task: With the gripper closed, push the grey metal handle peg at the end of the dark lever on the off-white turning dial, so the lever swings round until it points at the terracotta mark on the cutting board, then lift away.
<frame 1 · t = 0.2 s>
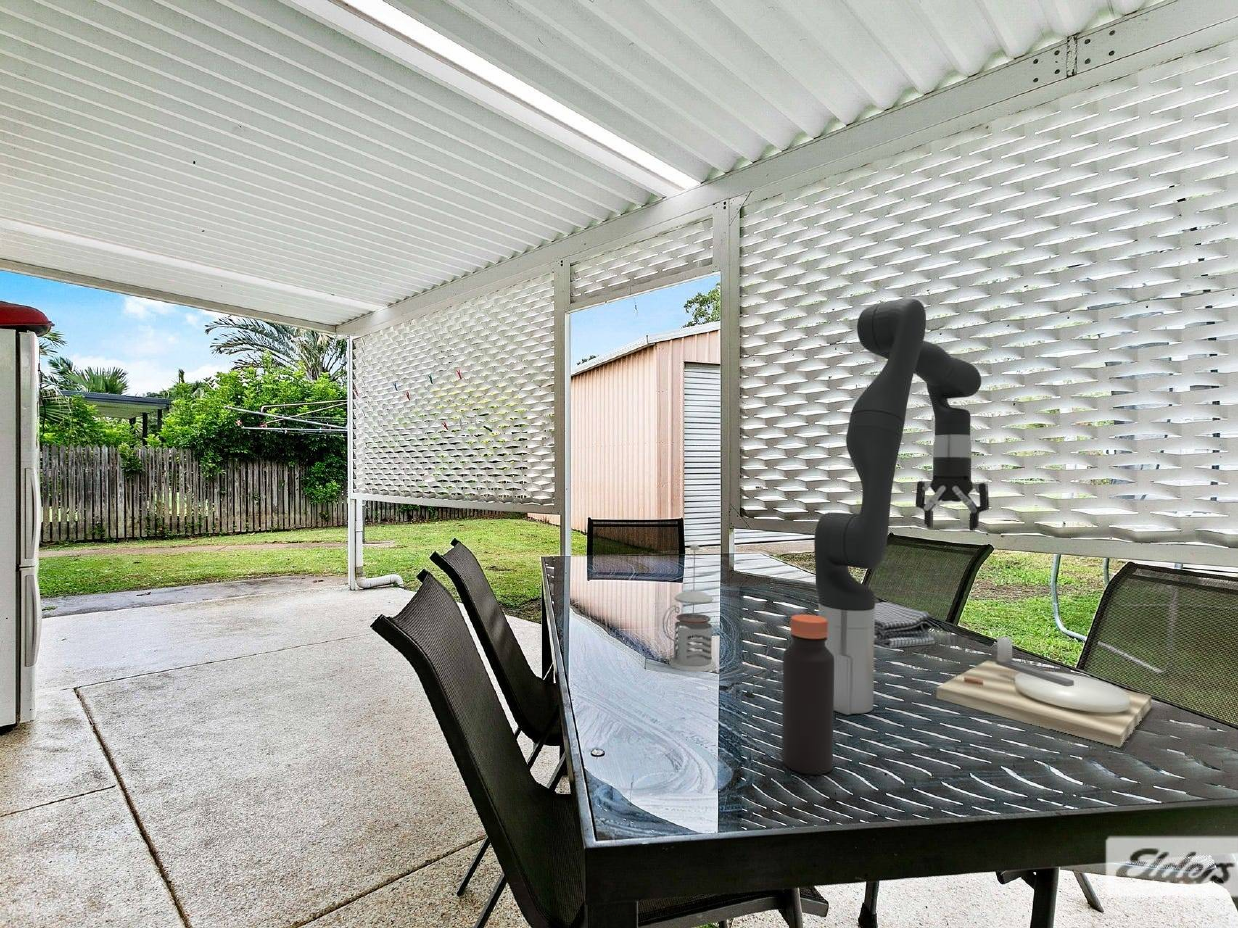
hand: (950, 528, 136), 29 cm above the table, fingers open, 8 cm apart
bottle: (806, 765, 84), on the table
cutting board: (1069, 709, 107), on the table
french press: (688, 665, 128), on the table
towel: (883, 639, 153), on the table
dial: (1054, 671, 108), point 6 cm above the table, hinge at 0.0°
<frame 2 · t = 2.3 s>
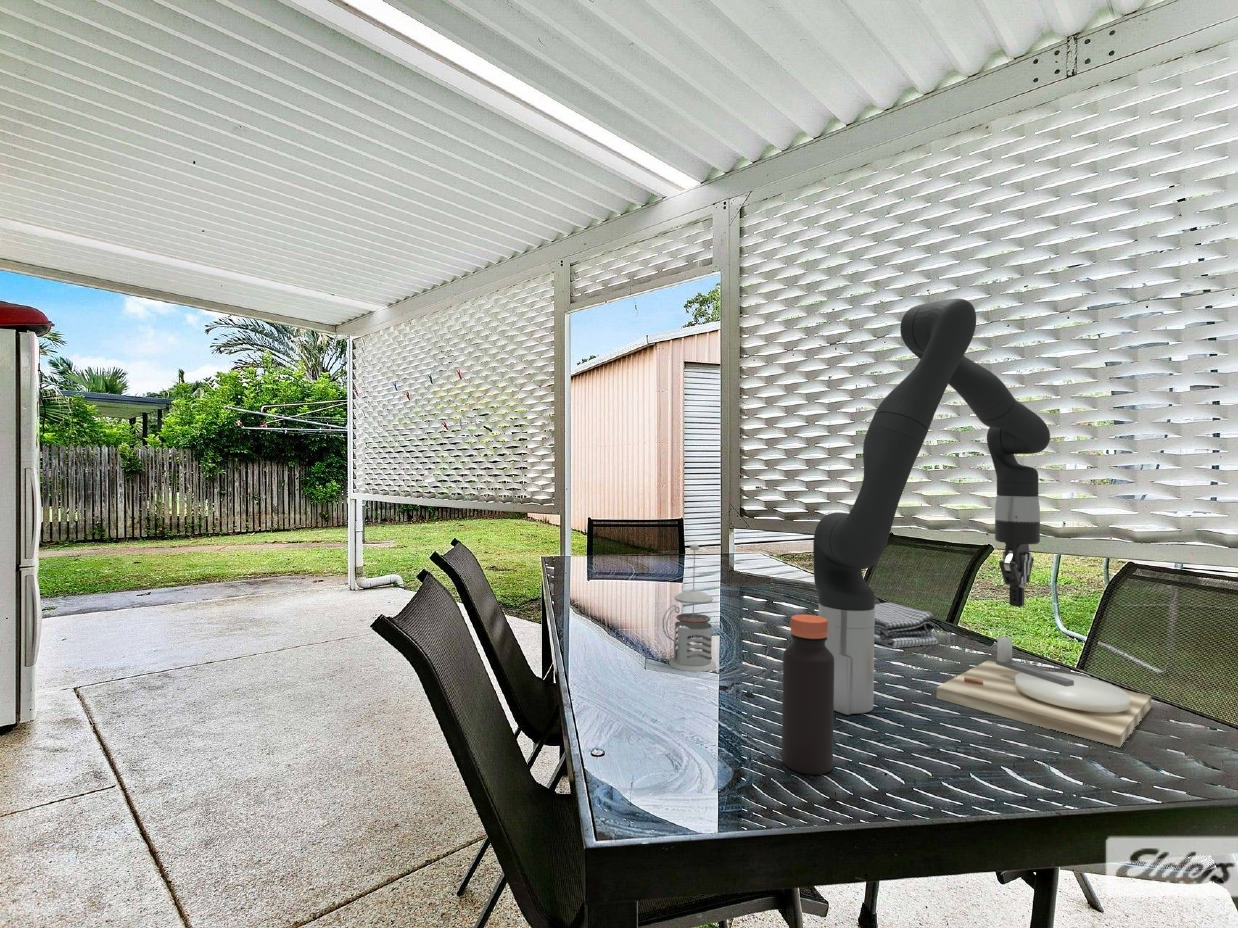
hand: (1016, 605, 122), 15 cm above the table, fingers closed
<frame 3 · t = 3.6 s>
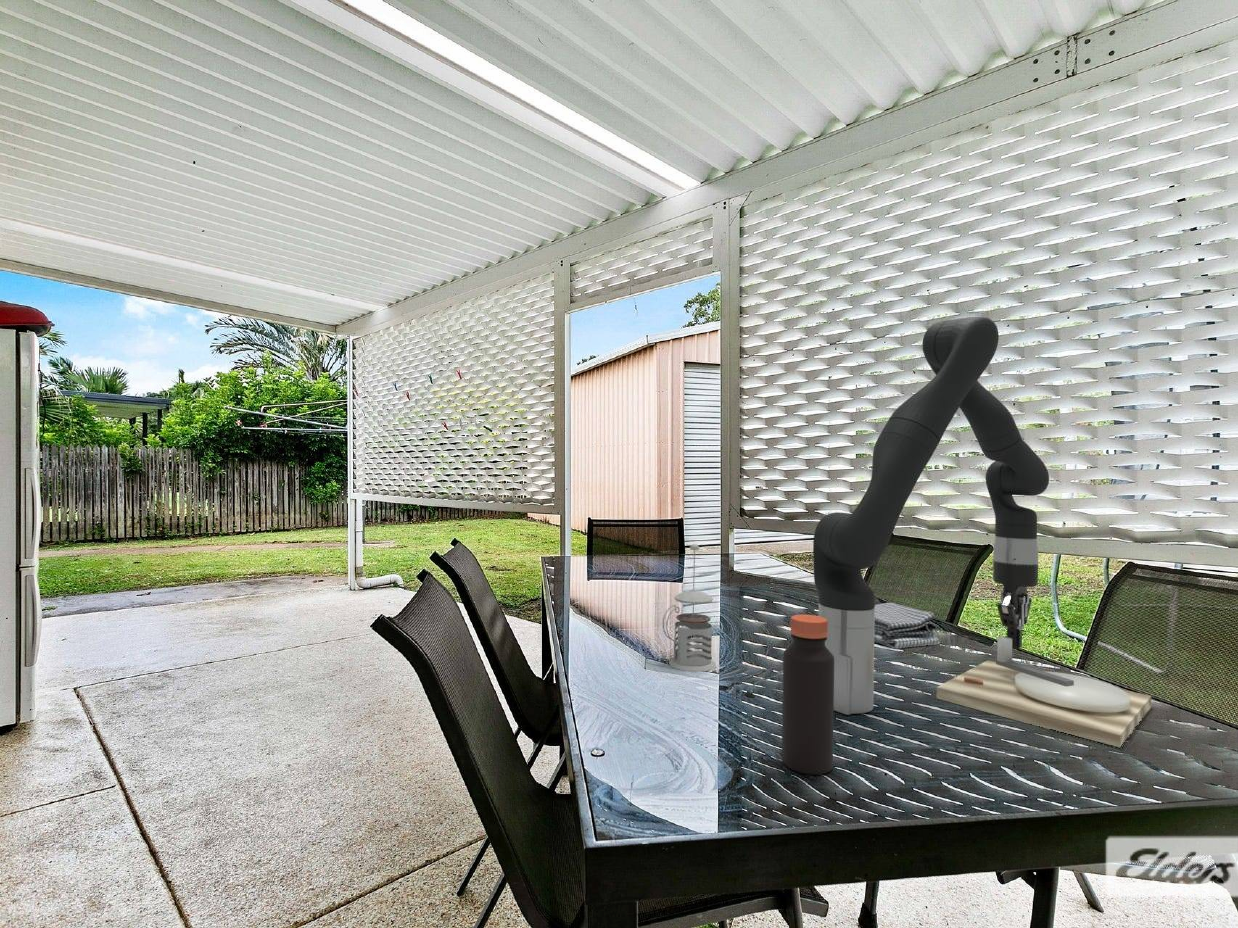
hand: (1014, 647, 122), 6 cm above the table, fingers closed
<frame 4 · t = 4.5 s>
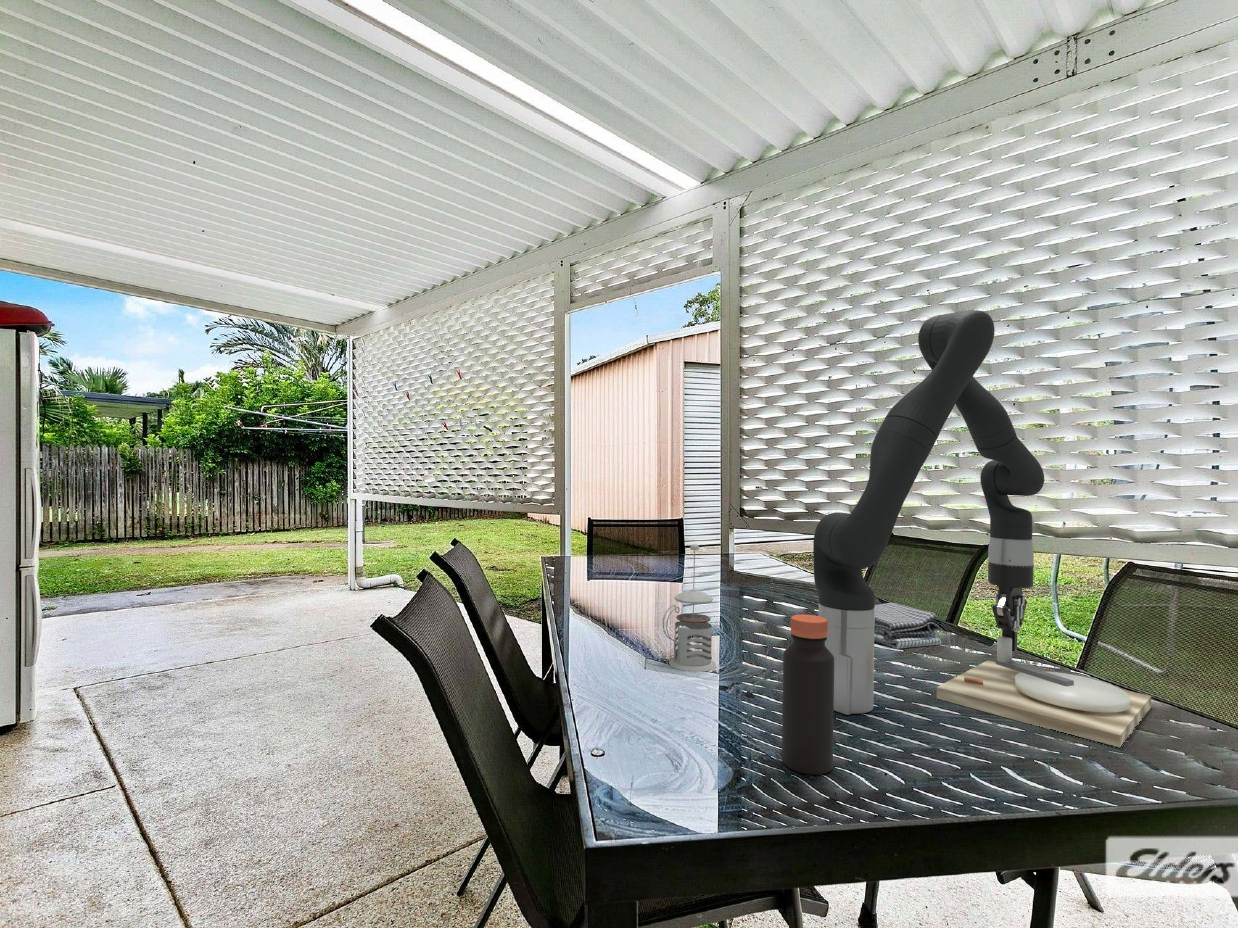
hand: (1009, 649, 120), 6 cm above the table, fingers closed
dial: (1054, 671, 108), point 6 cm above the table, hinge at 0.2°, touching gripper
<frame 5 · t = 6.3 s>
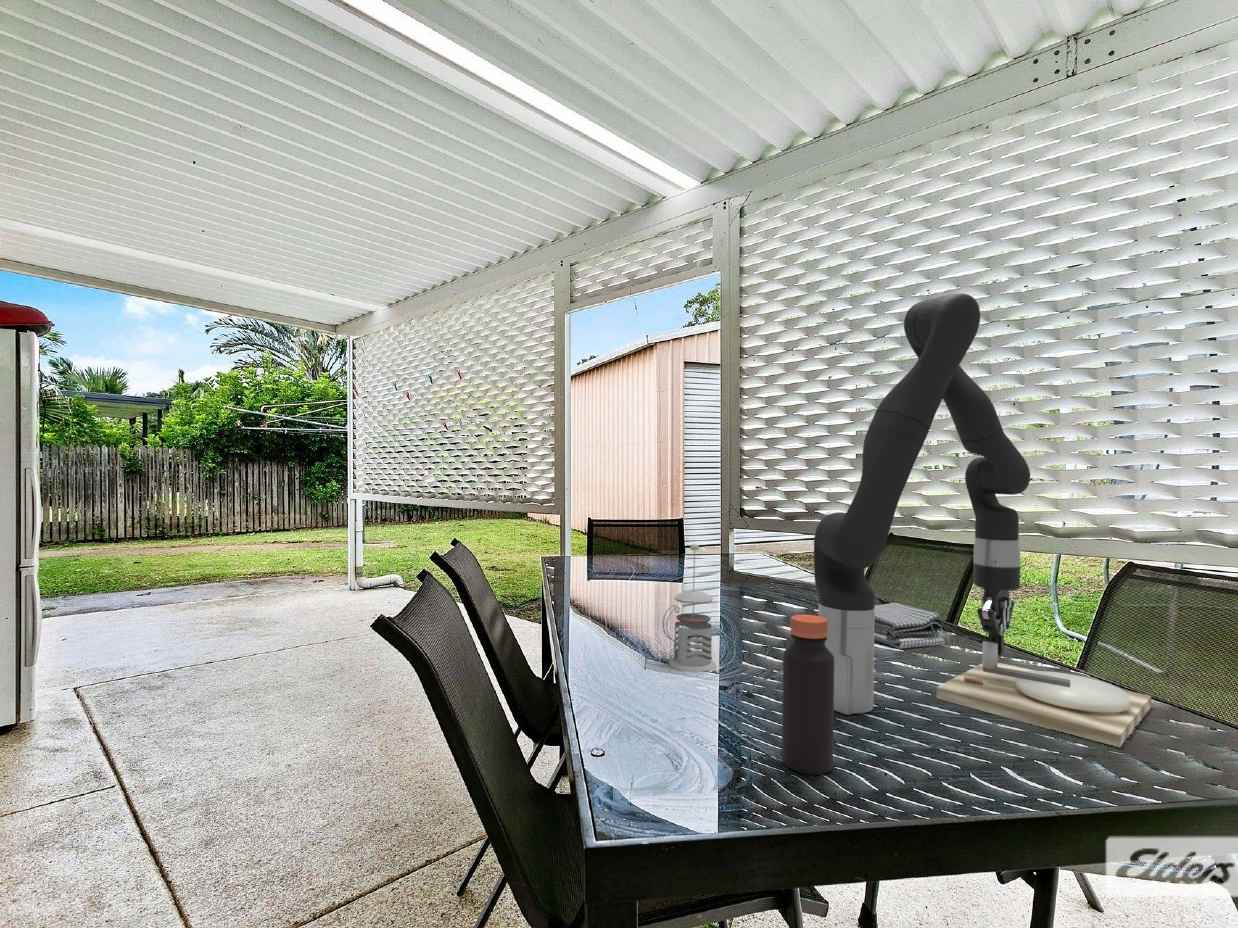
hand: (996, 653, 116), 7 cm above the table, fingers closed
dial: (1054, 673, 107), point 6 cm above the table, hinge at 31.5°, touching gripper
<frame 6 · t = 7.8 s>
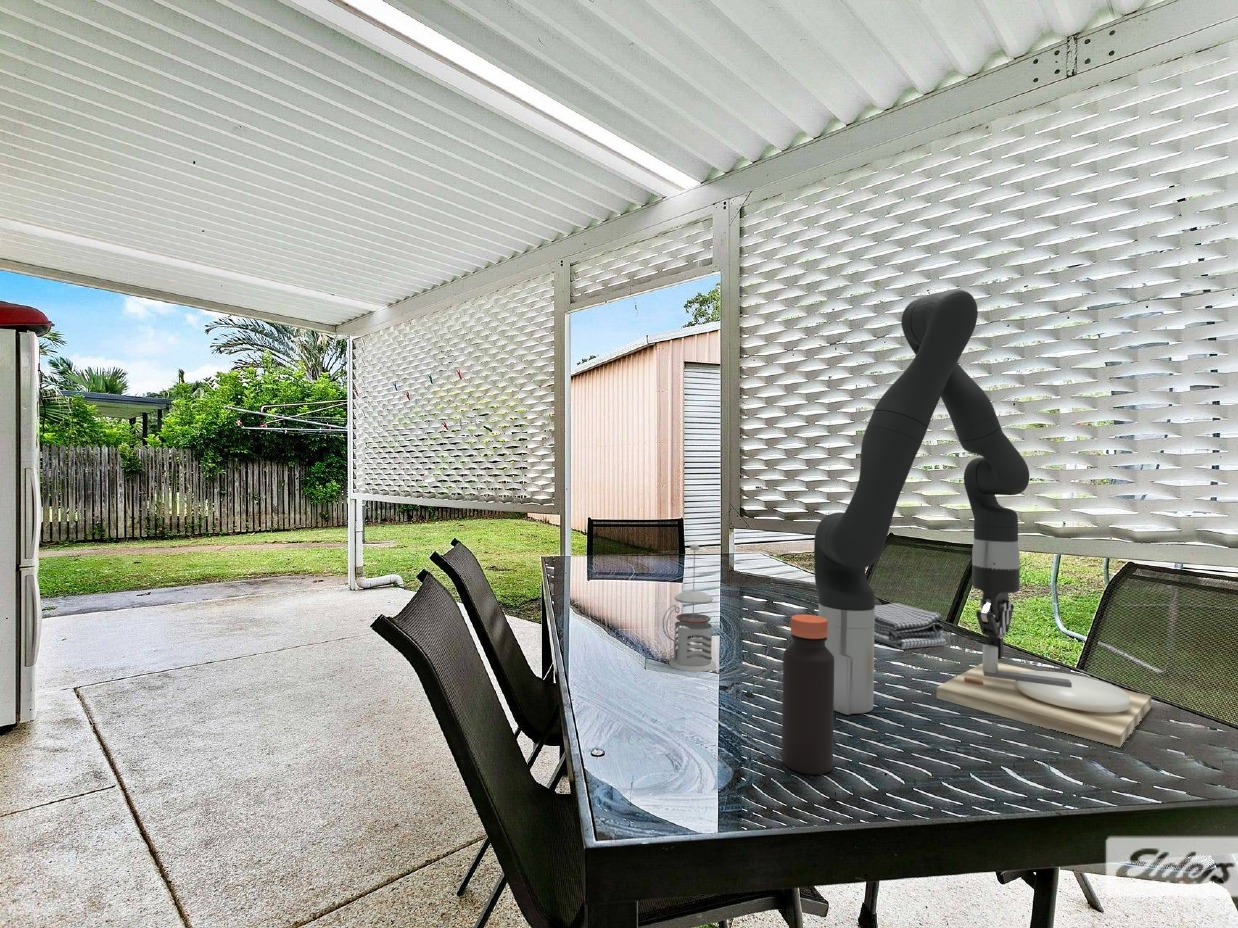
hand: (995, 657, 114), 7 cm above the table, fingers closed
dial: (1056, 674, 107), point 6 cm above the table, hinge at 44.4°, touching gripper
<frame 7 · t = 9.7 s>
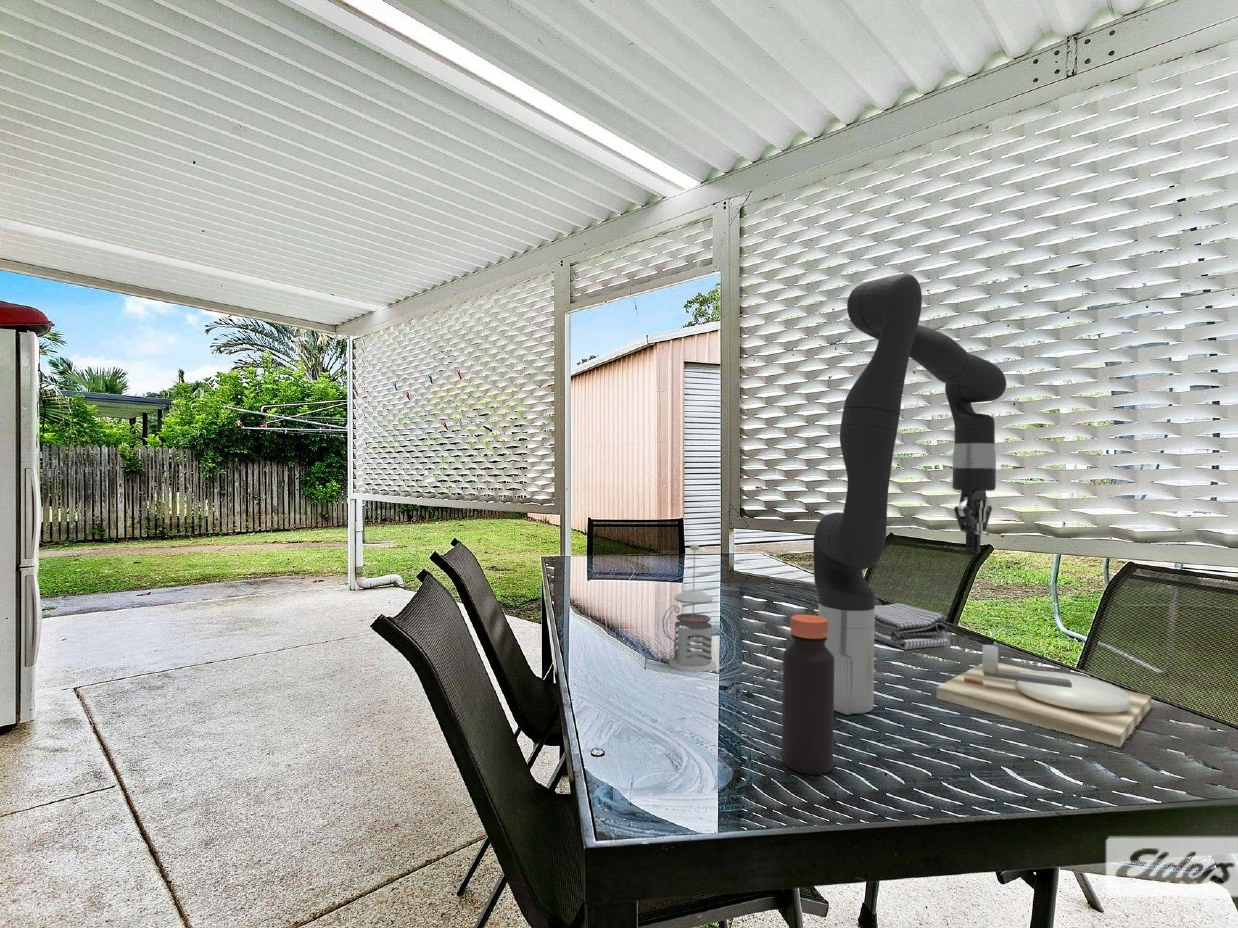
hand: (973, 552, 123), 25 cm above the table, fingers closed
dial: (1056, 674, 107), point 6 cm above the table, hinge at 44.5°
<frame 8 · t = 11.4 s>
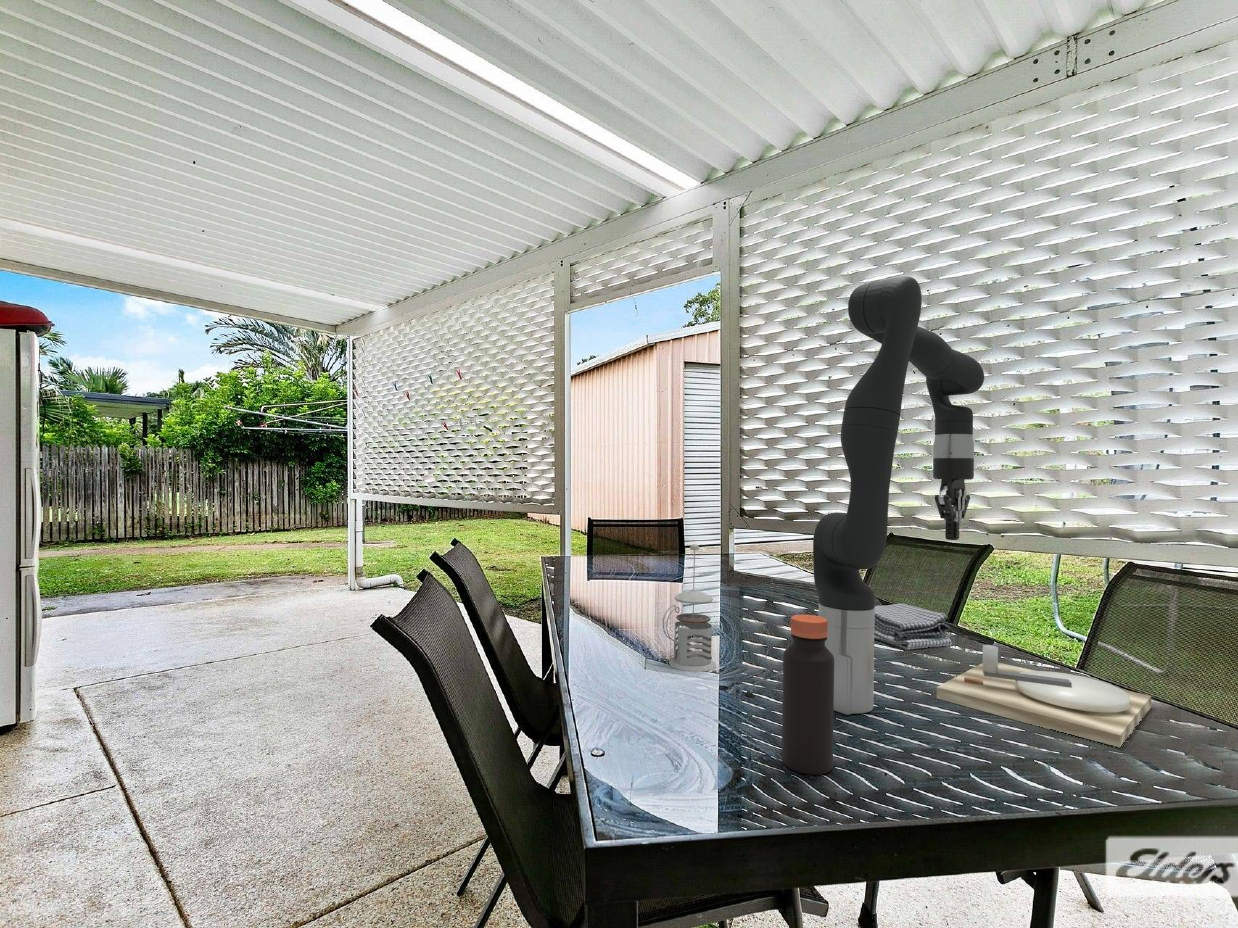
hand: (952, 539, 128), 27 cm above the table, fingers closed
at the end: dial at +44° (first picture: +0°) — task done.
